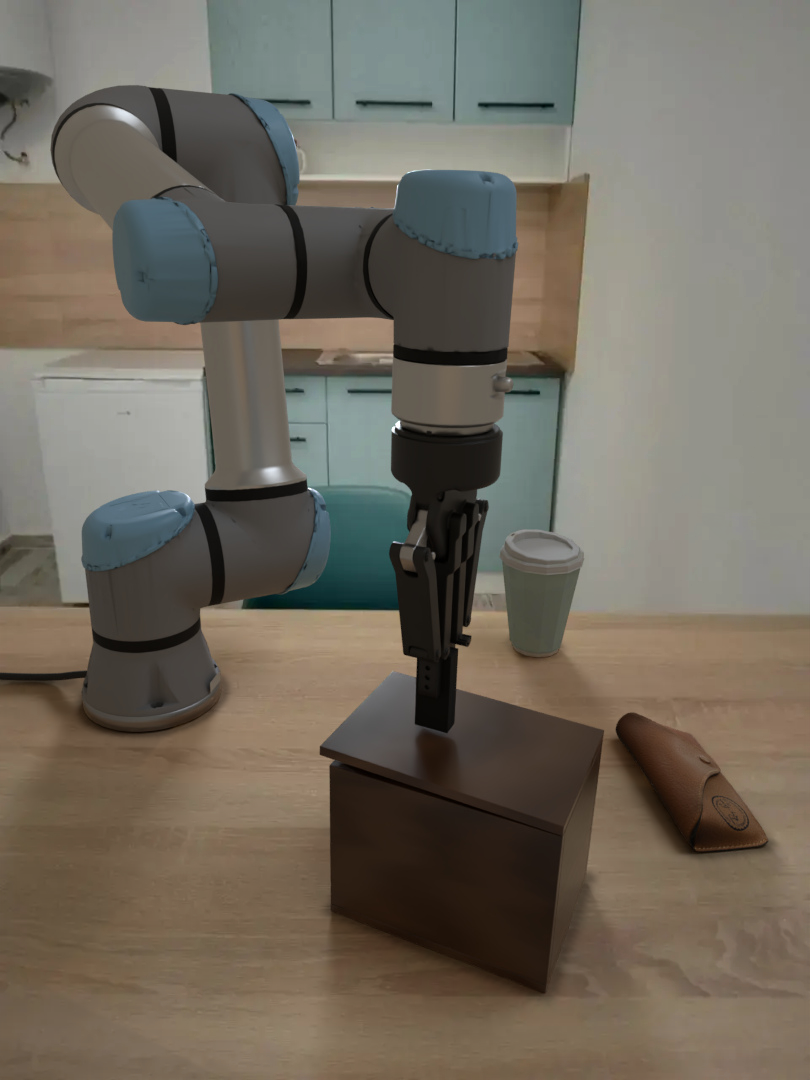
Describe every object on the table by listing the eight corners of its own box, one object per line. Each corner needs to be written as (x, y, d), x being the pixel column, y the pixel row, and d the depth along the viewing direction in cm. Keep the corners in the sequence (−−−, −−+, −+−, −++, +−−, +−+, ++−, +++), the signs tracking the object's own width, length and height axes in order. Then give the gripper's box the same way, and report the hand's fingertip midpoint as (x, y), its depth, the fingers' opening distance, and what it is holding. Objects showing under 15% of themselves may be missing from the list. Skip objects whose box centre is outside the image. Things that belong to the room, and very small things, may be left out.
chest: (330, 911, 66) (328, 765, 61) (397, 817, 77) (400, 687, 72) (545, 994, 59) (562, 837, 54) (585, 878, 70) (603, 739, 65)
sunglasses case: (777, 842, 74) (752, 791, 72) (708, 879, 74) (681, 830, 72) (686, 729, 91) (664, 685, 88) (630, 761, 91) (606, 717, 89)
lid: (319, 755, 61) (319, 746, 61) (392, 678, 72) (392, 670, 72) (562, 836, 54) (563, 826, 54) (603, 738, 65) (604, 729, 65)
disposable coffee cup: (587, 642, 111) (599, 537, 106) (555, 675, 102) (567, 563, 97) (515, 622, 116) (523, 521, 111) (479, 652, 108) (486, 544, 102)
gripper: (465, 449, 49) (448, 784, 57) (529, 411, 60) (507, 695, 68) (352, 434, 52) (351, 755, 60) (433, 400, 63) (423, 675, 71)
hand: (434, 723), depth 64 cm, fingers closed
